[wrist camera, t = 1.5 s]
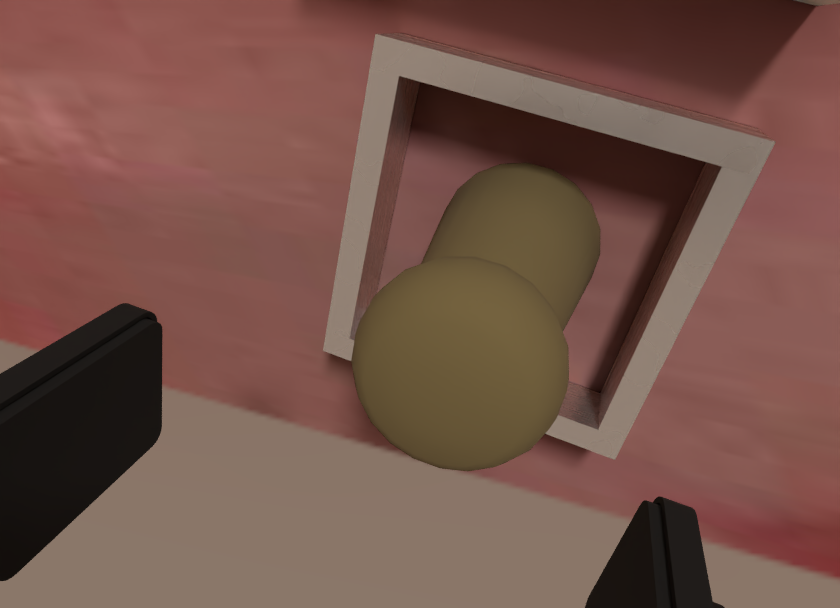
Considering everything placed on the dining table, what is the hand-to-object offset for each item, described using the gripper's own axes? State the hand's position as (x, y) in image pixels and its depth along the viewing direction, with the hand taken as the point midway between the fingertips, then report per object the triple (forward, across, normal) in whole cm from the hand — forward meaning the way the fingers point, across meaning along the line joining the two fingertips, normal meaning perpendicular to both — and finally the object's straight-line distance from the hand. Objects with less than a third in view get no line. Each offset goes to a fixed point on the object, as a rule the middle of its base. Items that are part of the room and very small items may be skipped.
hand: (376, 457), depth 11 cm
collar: (+13, -1, 0) cm, 13 cm away
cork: (+13, -1, 0) cm, 13 cm away
